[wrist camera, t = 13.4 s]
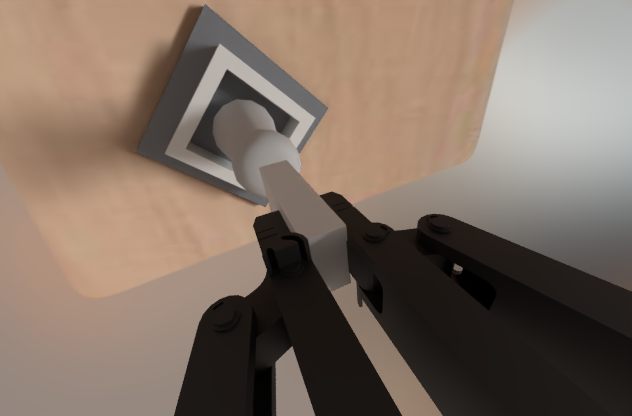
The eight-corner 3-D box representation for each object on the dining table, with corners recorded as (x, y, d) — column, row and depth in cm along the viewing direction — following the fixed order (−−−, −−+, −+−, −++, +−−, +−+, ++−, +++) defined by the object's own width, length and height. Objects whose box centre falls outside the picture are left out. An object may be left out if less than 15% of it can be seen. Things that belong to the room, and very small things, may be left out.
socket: (204, 6, 20) (205, -5, 17) (324, 106, 28) (340, 112, 25) (138, 149, 23) (128, 162, 20) (263, 203, 31) (270, 219, 28)
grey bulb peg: (214, 155, 25) (223, 218, 15) (208, 94, 22) (213, 119, 12) (269, 154, 27) (312, 208, 17) (270, 99, 25) (320, 123, 14)
